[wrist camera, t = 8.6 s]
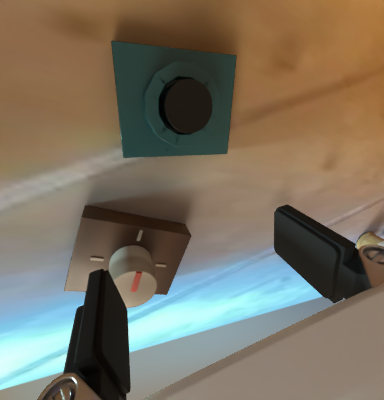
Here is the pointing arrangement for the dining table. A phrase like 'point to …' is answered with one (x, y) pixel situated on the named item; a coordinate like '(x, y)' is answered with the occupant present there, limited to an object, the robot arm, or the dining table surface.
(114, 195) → the dining table surface
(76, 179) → the dining table surface
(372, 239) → the sprinkles bottle
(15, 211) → the dining table surface
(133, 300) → the dial
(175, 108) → the black button
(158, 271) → the dial panel
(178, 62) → the button housing
